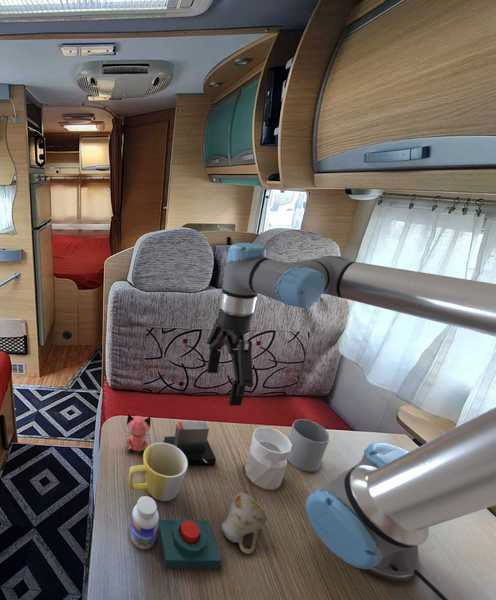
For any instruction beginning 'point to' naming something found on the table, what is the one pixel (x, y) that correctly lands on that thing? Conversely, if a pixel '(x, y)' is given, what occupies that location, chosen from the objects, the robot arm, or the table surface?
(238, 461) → the table surface
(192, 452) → the plate
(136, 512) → the pill bottle
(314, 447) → the cup
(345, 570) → the table surface
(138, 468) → the mug
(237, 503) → the mug
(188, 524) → the button
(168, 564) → the switch
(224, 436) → the table surface
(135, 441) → the pink cat figurine
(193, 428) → the spout
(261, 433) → the vase
